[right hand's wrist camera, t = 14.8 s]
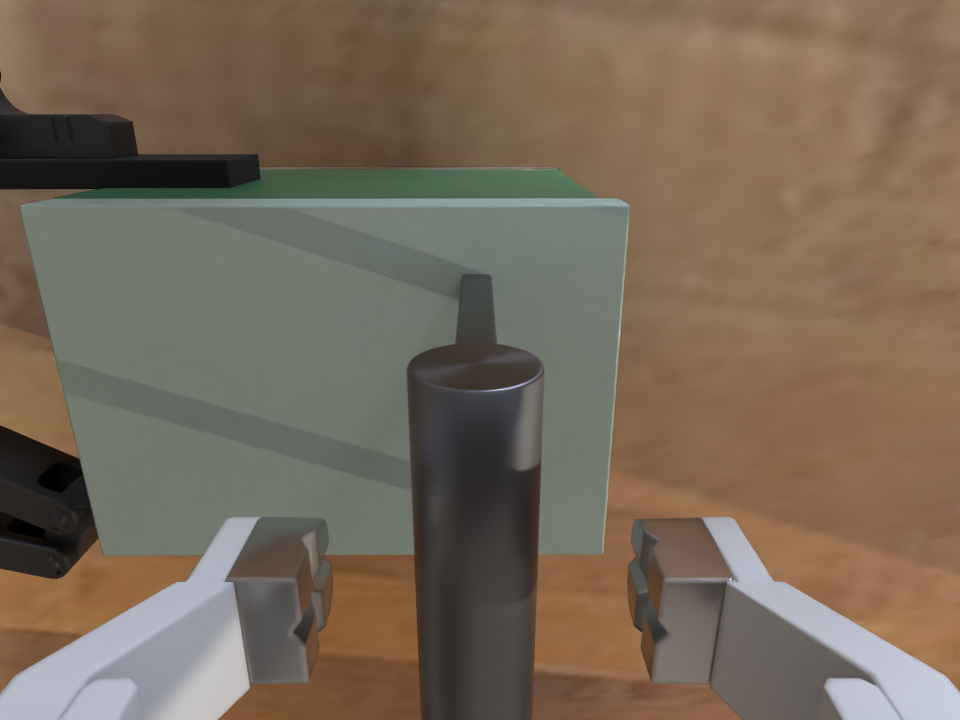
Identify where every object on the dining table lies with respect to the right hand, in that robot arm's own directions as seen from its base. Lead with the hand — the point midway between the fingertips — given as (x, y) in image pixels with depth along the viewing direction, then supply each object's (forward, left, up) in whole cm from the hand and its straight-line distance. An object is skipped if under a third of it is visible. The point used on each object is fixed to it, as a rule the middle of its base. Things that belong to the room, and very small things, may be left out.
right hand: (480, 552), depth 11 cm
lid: (+2, -3, -7) cm, 8 cm away
